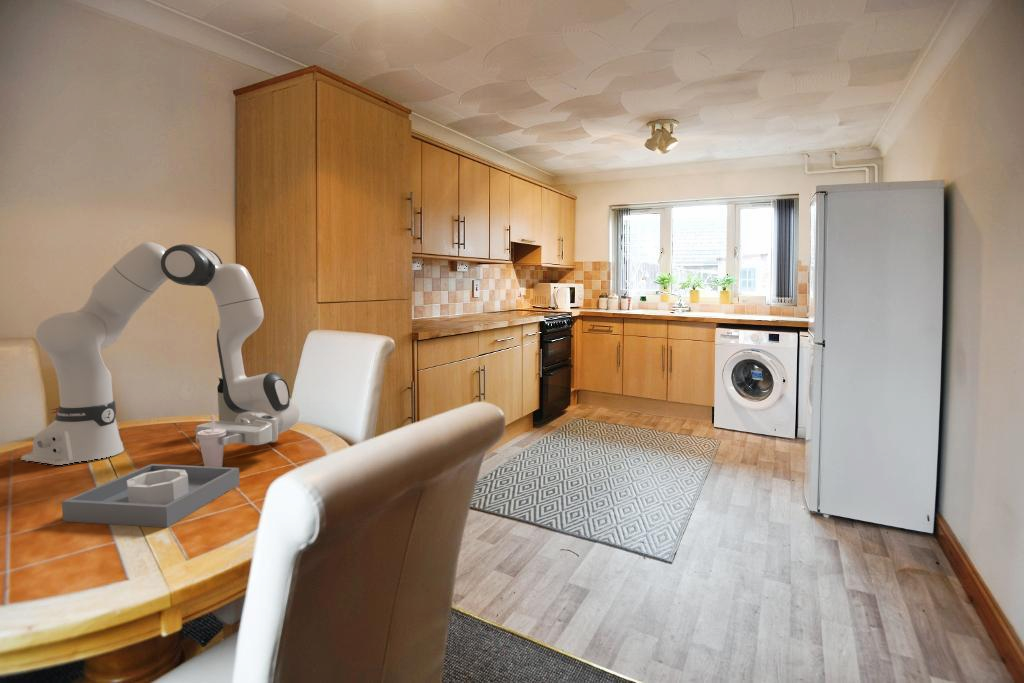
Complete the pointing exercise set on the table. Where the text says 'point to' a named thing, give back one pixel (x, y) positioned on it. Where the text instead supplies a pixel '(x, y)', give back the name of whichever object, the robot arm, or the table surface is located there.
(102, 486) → the tray
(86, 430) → the robot arm
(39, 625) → the table surface
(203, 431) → the smoothie
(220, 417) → the travel mug
